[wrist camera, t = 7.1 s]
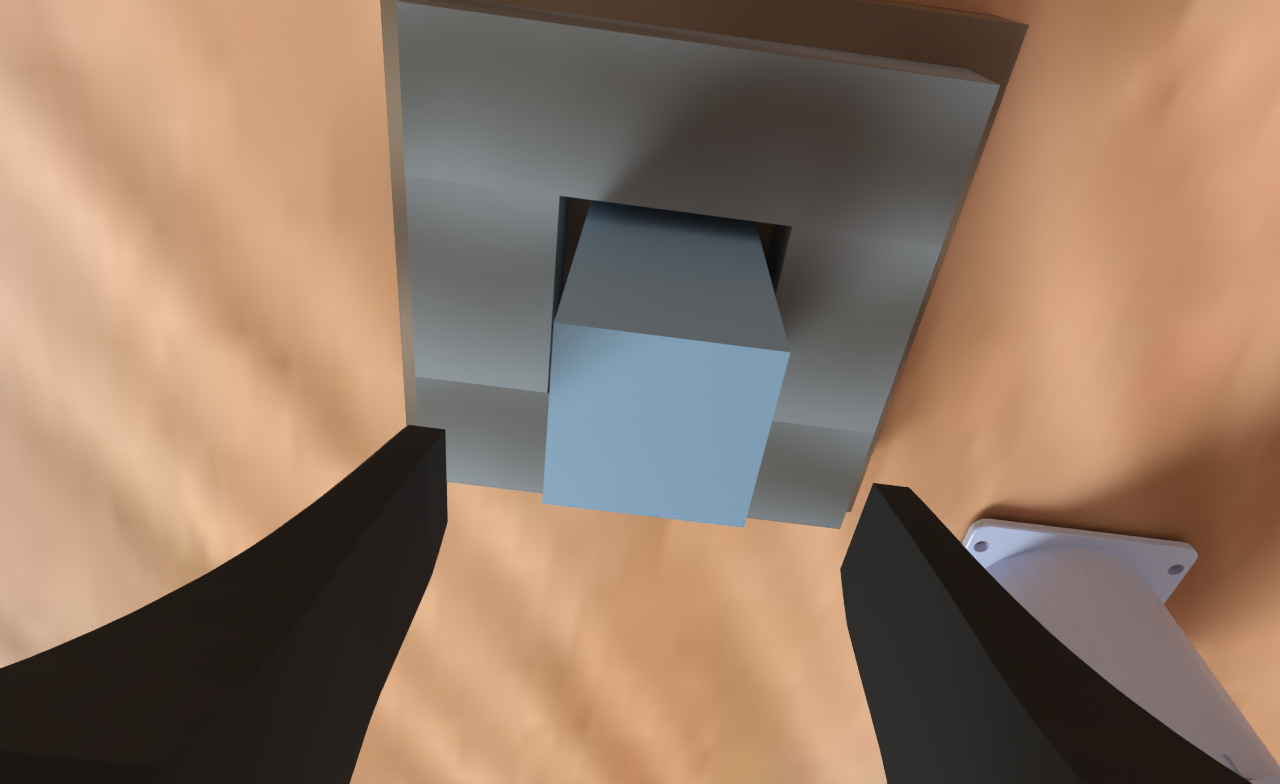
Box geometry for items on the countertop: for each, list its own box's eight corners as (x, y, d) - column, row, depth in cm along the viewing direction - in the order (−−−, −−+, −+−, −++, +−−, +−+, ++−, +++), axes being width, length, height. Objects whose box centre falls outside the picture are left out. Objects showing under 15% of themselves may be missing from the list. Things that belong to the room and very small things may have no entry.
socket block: (839, 472, 25) (864, 557, 22) (427, 422, 25) (387, 501, 21) (995, 15, 17) (1071, 36, 14) (405, -69, 17) (339, -67, 14)
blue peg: (724, 353, 20) (743, 527, 15) (581, 335, 20) (542, 503, 14) (753, 214, 18) (790, 352, 12) (593, 193, 18) (554, 322, 12)
